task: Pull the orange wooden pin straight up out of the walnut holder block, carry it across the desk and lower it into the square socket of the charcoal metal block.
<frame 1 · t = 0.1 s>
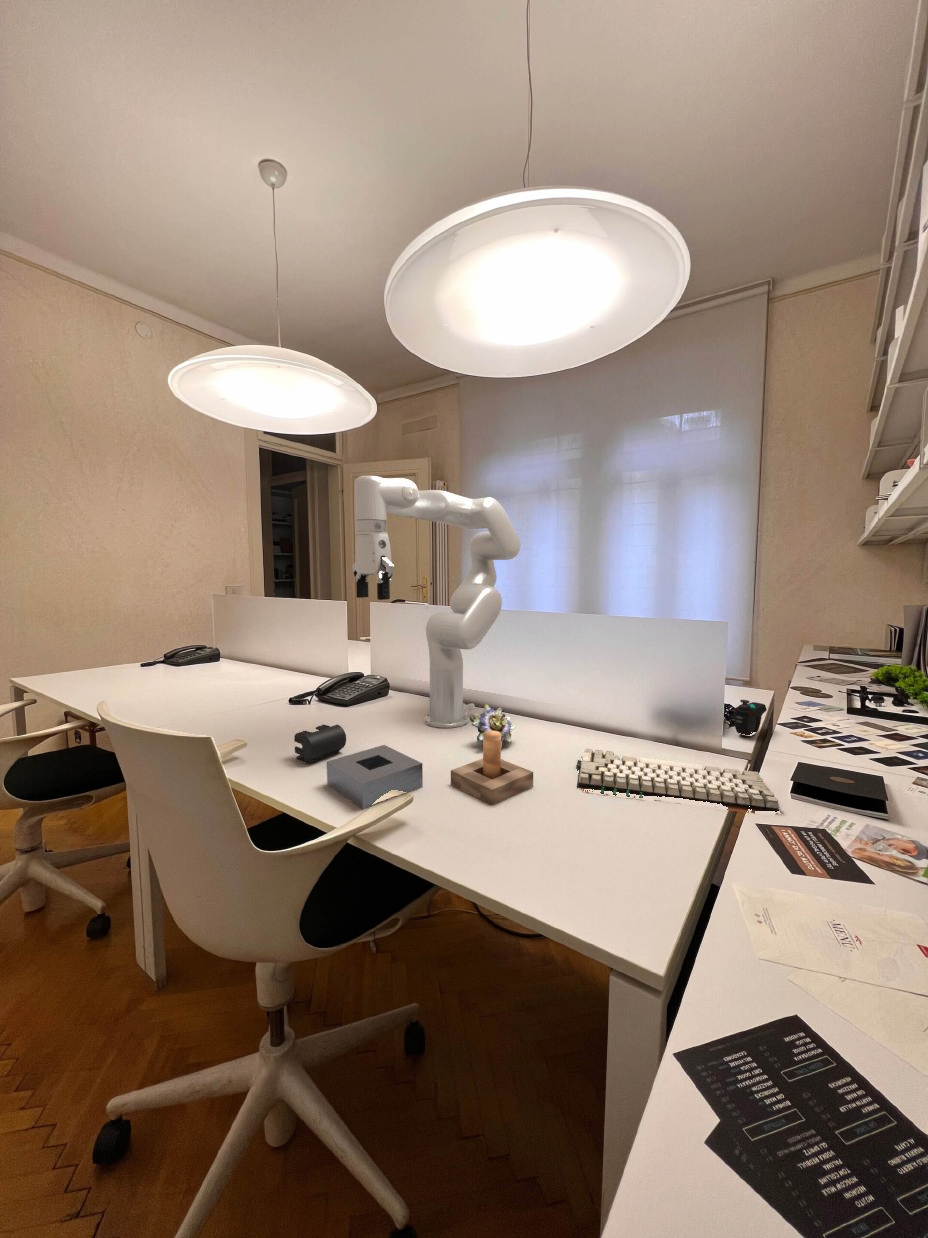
hand: (372, 598, 124), 37 cm above the table, tool pointing down, fingers open, 9 cm apart
passion flower: (491, 744, 127), on the table
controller: (748, 735, 133), on the table
pin: (491, 759, 103), in the holder
holder: (491, 785, 103), on the table
end cap: (320, 757, 118), on the table
socket block: (374, 785, 103), on the table
mechanical keyboard: (668, 786, 104), on the table
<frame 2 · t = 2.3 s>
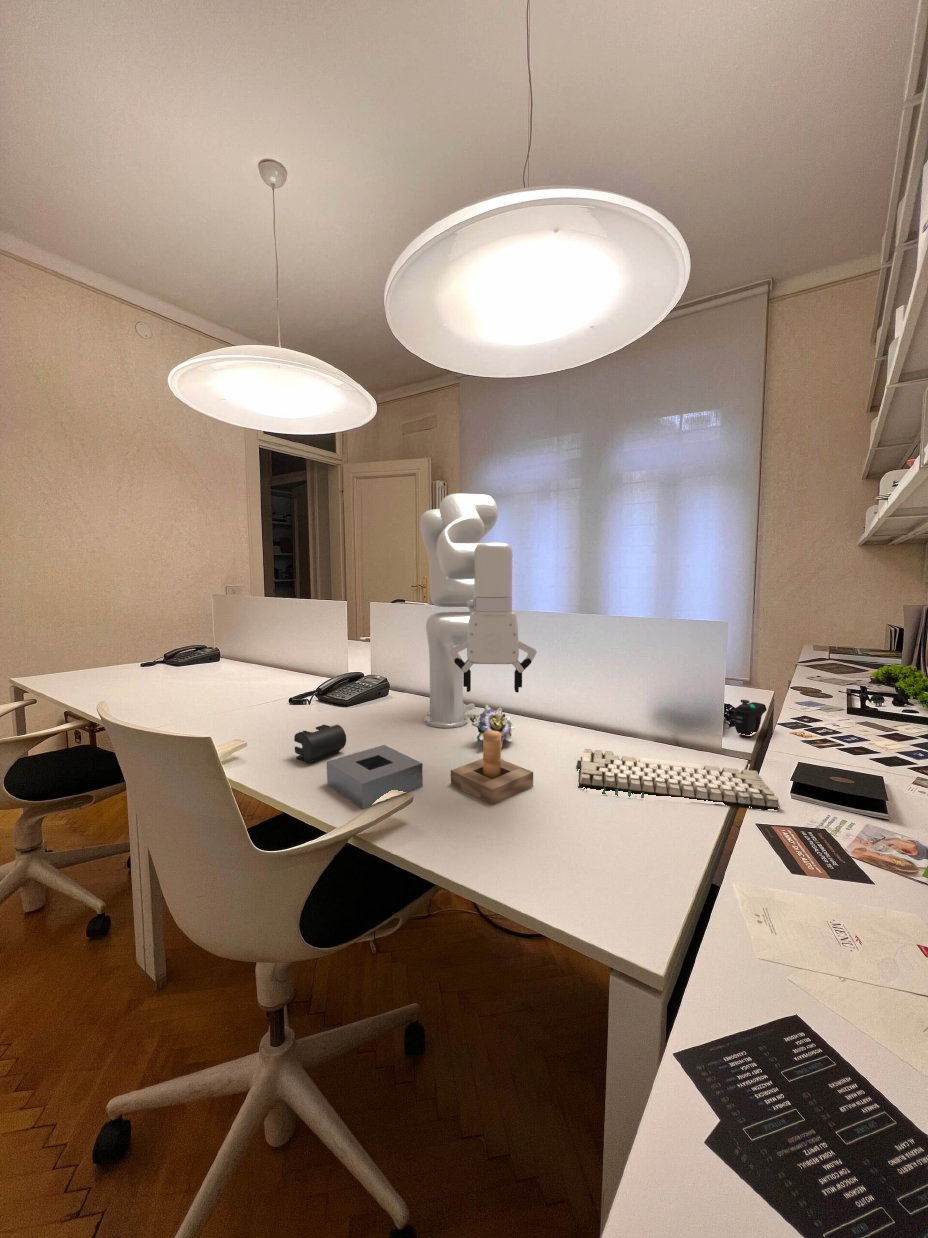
hand: (492, 690, 101), 20 cm above the table, tool pointing down, fingers open, 9 cm apart
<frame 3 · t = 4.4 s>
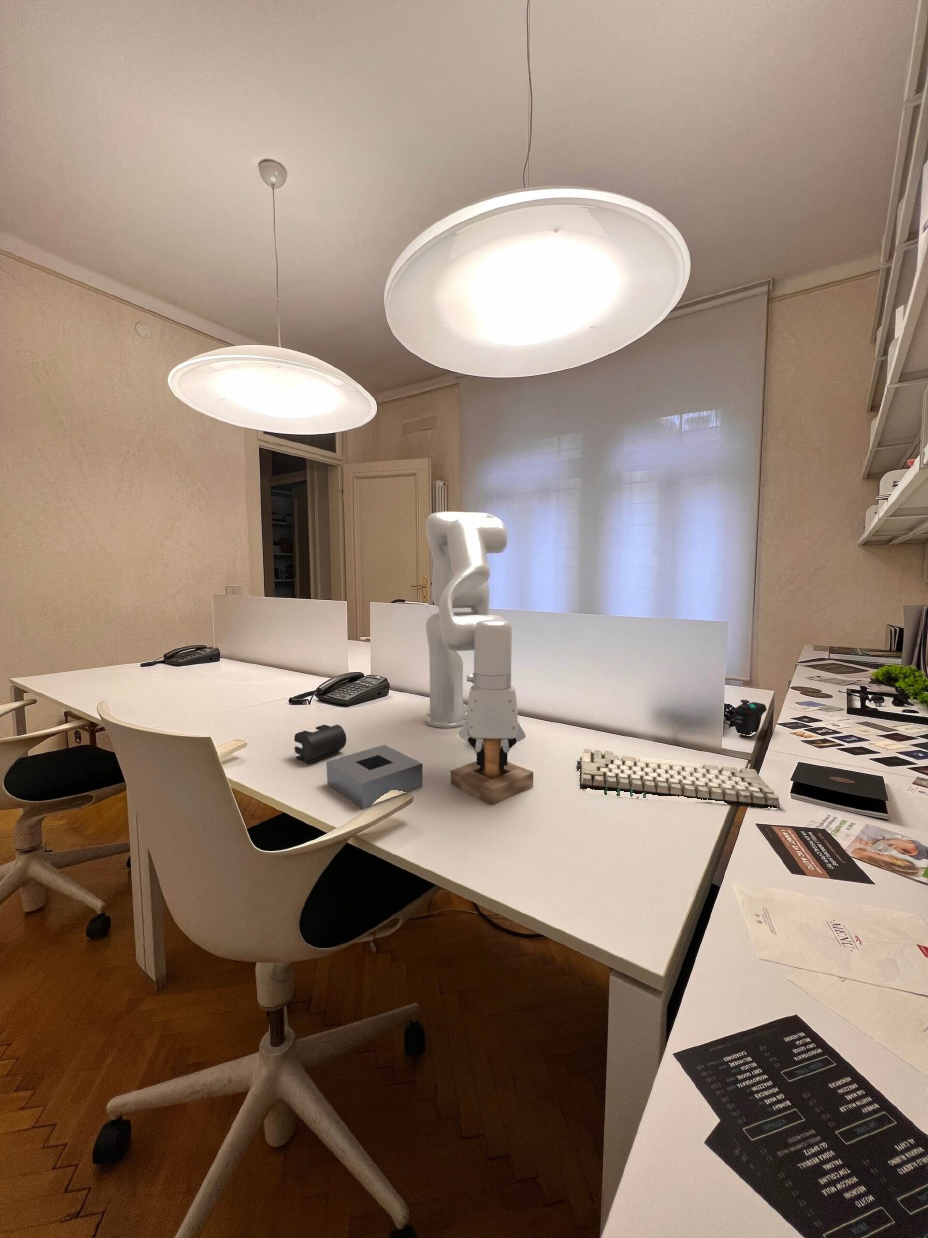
hand: (491, 767, 103), 4 cm above the table, tool pointing down, fingers closed on pin, 3 cm apart
pin: (491, 759, 102), in the holder, touching gripper
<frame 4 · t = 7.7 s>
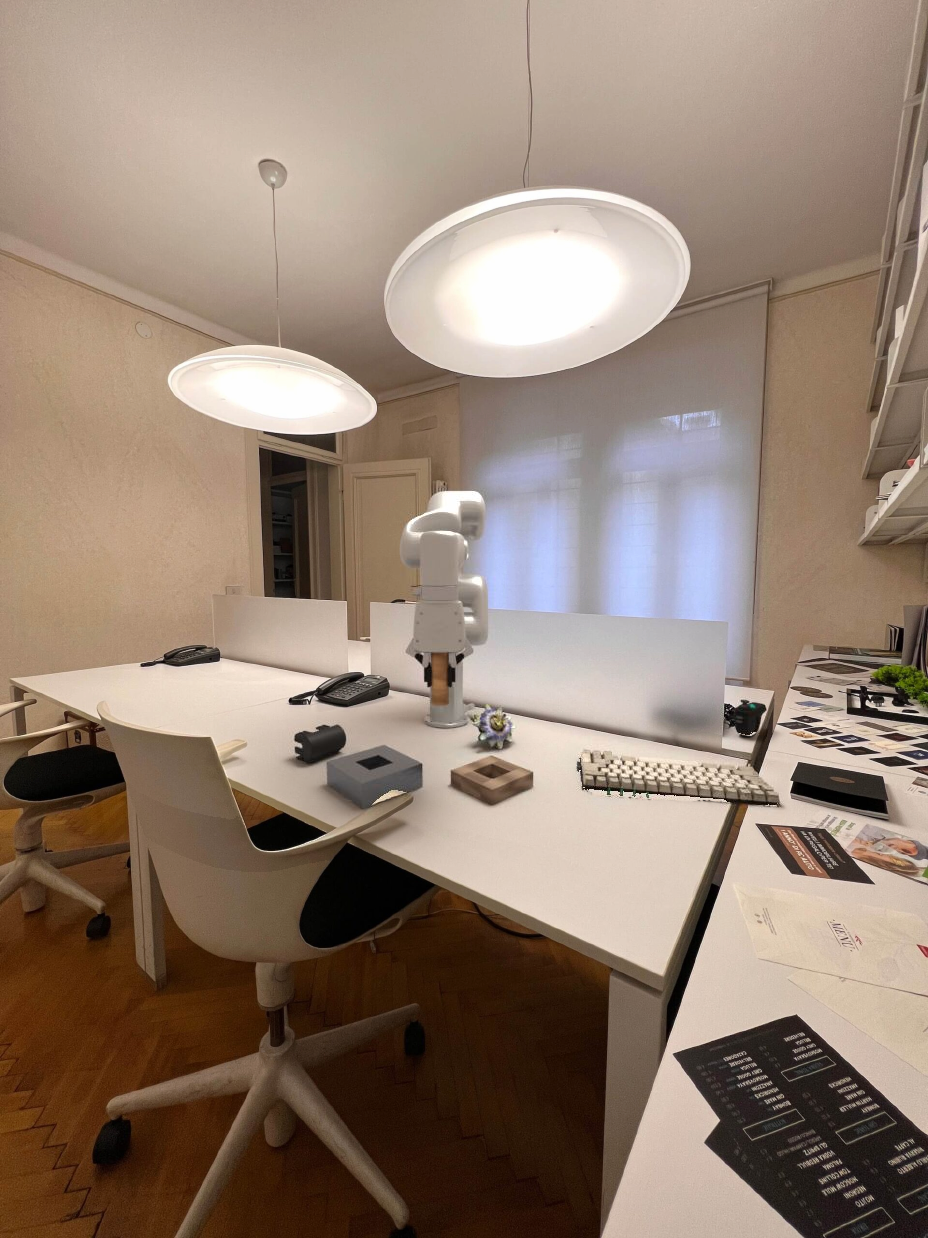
hand: (439, 684, 101), 21 cm above the table, tool pointing down, fingers closed on pin, 3 cm apart
pin: (440, 676, 100), point 23 cm above the table, touching gripper
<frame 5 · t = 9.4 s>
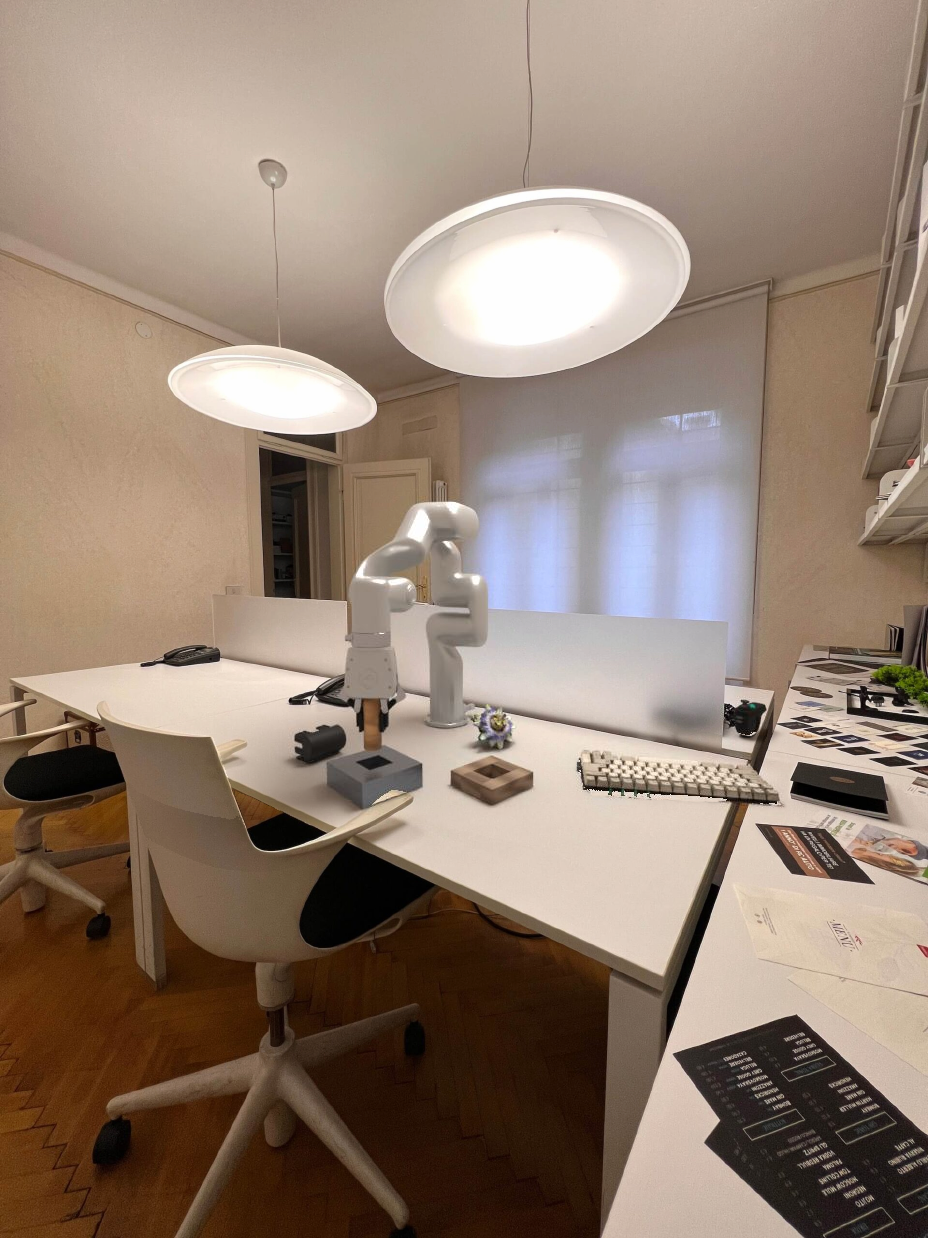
hand: (372, 729, 101), 12 cm above the table, tool pointing down, fingers closed on pin, 3 cm apart
pin: (372, 721, 101), point 14 cm above the table, touching gripper
when the fingers open (5 cm above the table, at t = 11.0 s): pin drops 1 cm, resting in socket block.
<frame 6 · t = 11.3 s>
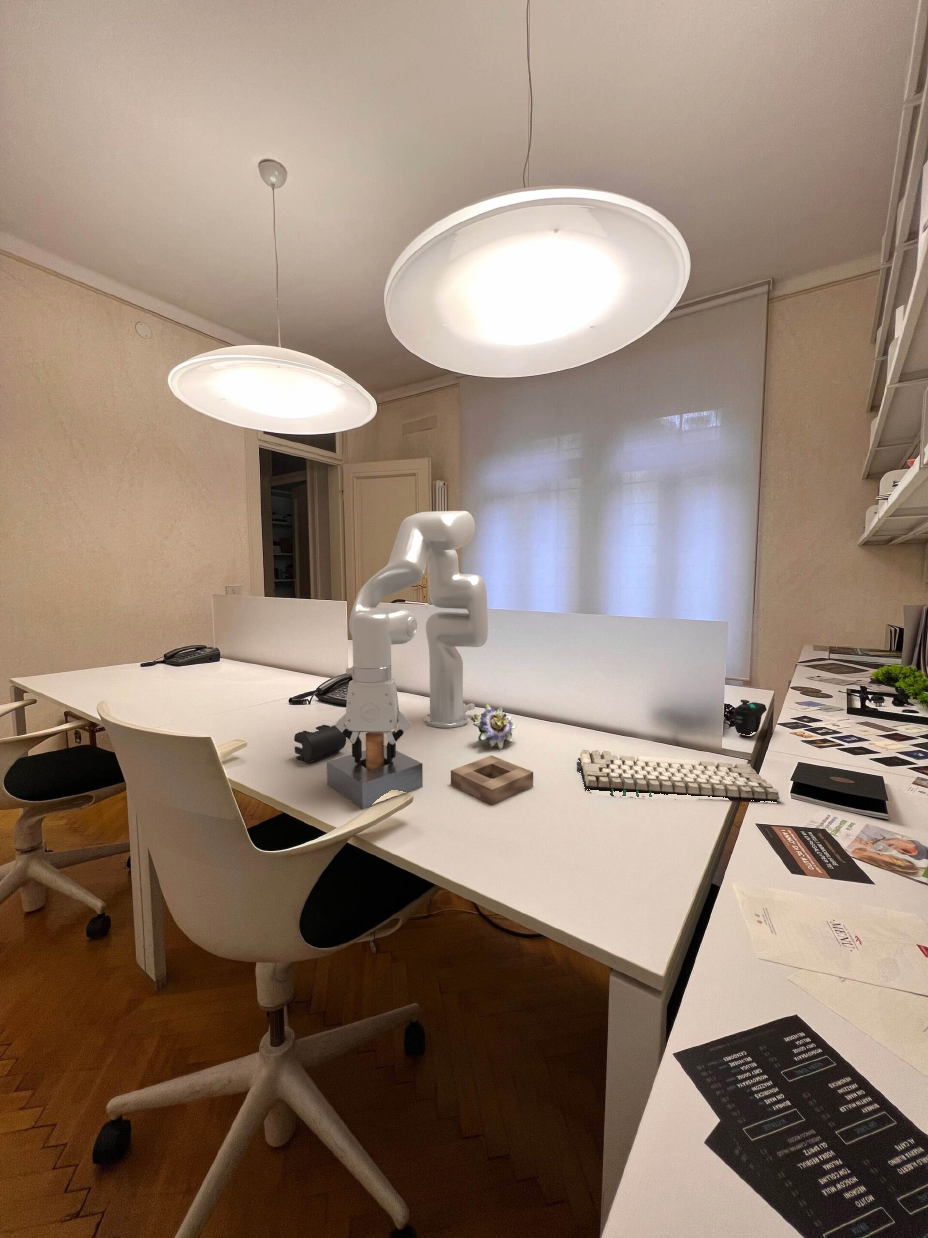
hand: (374, 759, 102), 6 cm above the table, tool pointing down, fingers open, 6 cm apart
pin: (375, 760, 102), in the socket block
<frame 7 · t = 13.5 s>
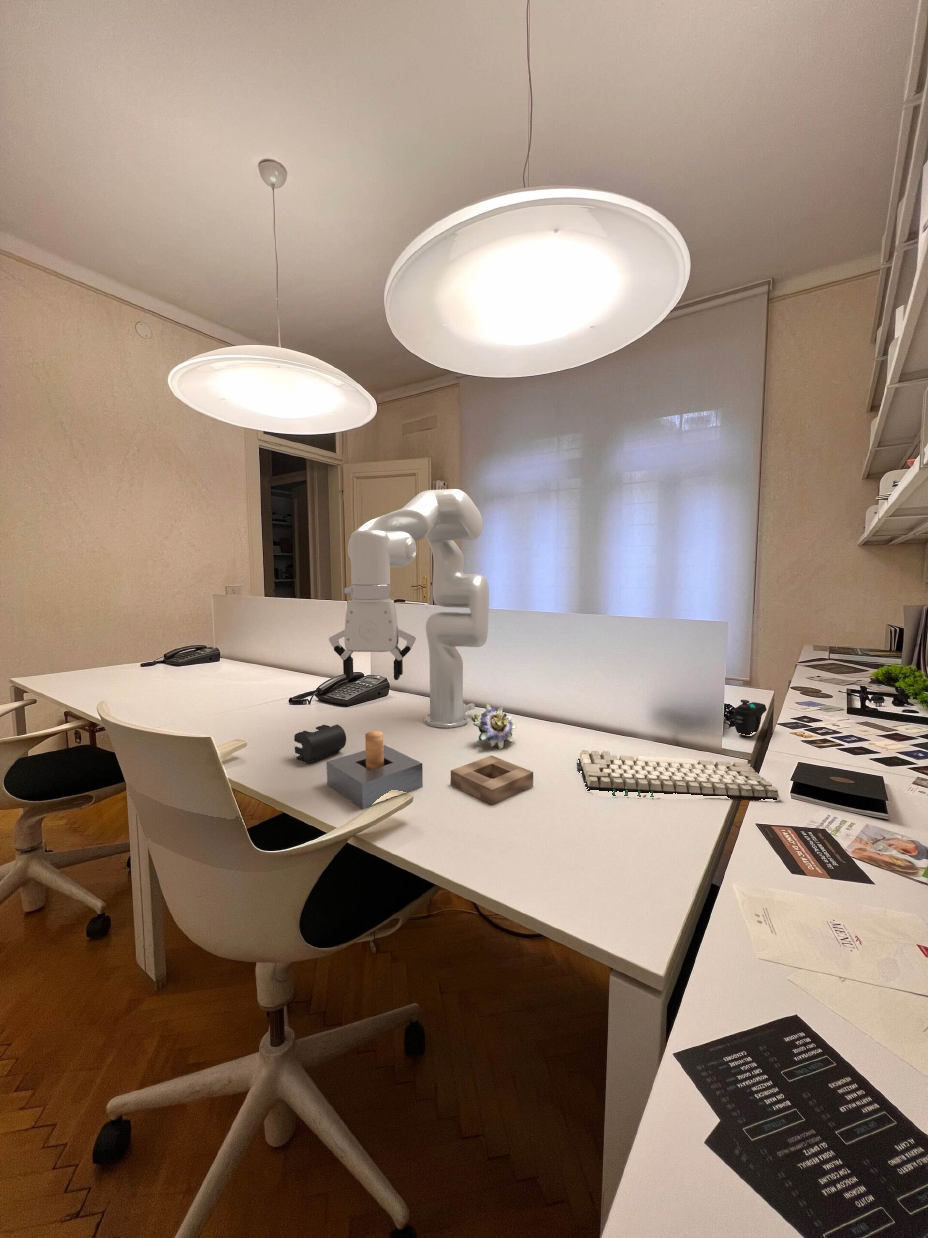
hand: (373, 678, 101), 22 cm above the table, tool pointing down, fingers open, 9 cm apart
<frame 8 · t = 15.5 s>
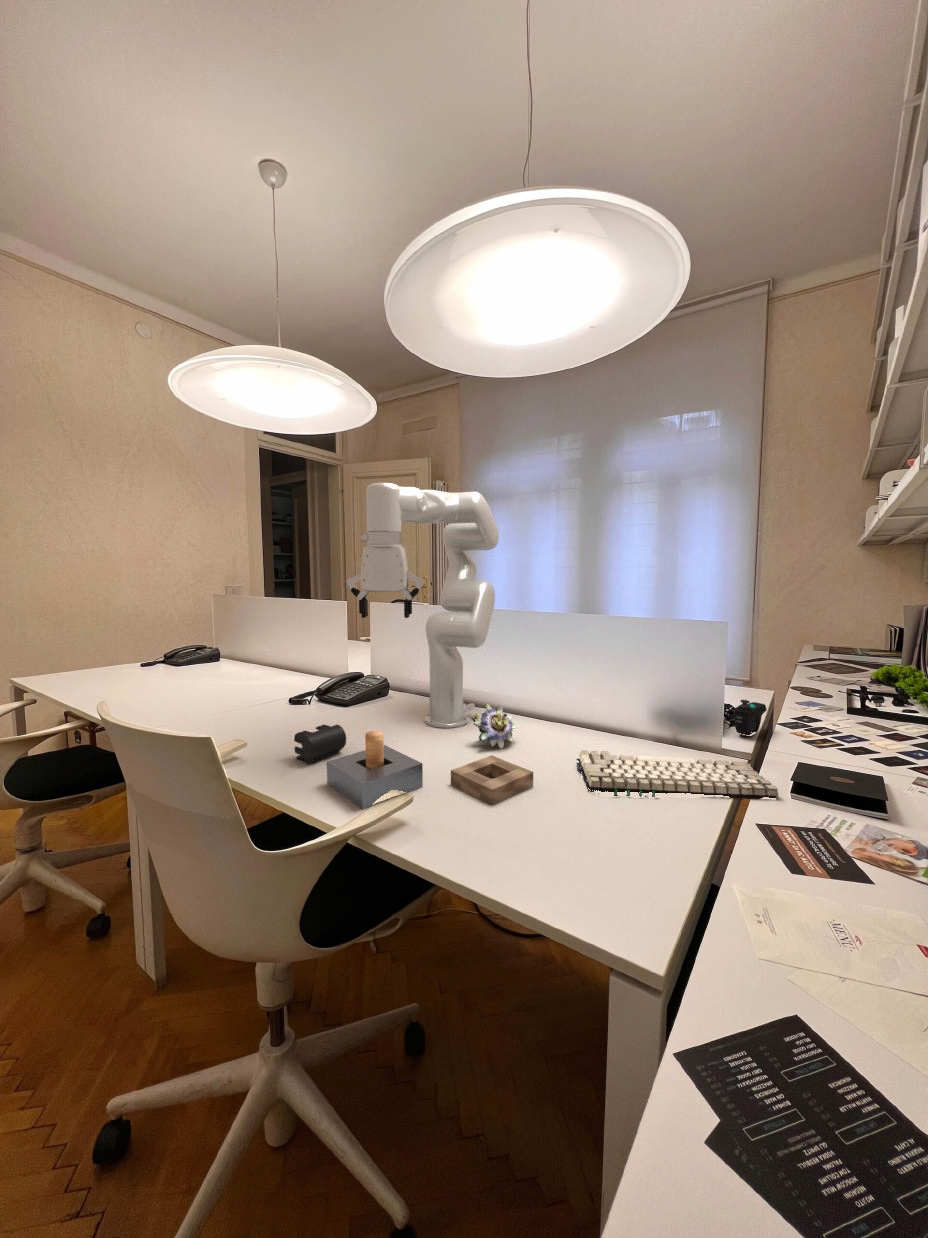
hand: (385, 617, 113), 33 cm above the table, tool pointing down, fingers open, 9 cm apart
at the end: pin 0.1 cm off-centre on the socket block, point 5.5 cm above the socket block's base; pin tilted 0°; the gripper is holding nothing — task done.
